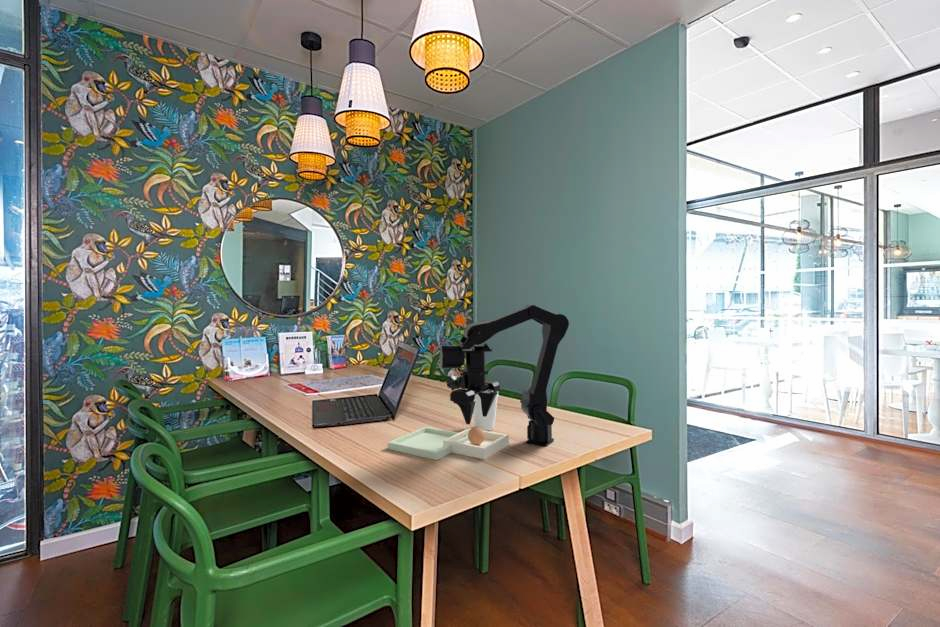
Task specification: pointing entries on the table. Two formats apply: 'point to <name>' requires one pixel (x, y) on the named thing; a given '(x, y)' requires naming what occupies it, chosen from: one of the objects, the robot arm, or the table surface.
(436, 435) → the tray
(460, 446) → the white square open box
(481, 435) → the ball
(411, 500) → the table surface
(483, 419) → the foam cup
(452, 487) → the table surface
